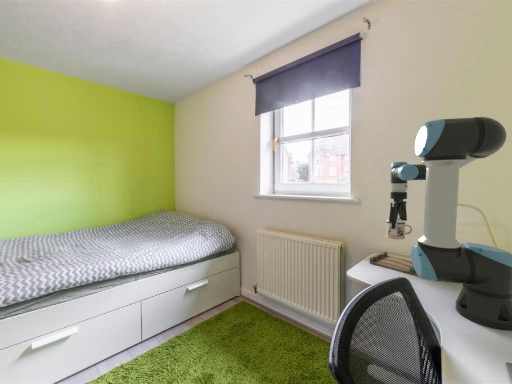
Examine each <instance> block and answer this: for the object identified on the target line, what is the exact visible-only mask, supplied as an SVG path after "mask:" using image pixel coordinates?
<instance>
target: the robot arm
mask: <svg viewBox="0 0 512 384" xmlns="http://www.w3.org/2000/svg"><path fill="white" fill-rule="evenodd" d="M506 130H507V129H506V128H505V126H504V125H503V124H502V123H501V122H500V121H498V120H496V119H494V118H491V117H487V116H485V117H484V116H475V117H460V118H459V117H458V118H442V119H434V120H428V121H426V122H424V123H423V124H422V125H421V126H420V128H419V129H418V132H417V134H416V137H415V142H414V154H415V155H416V156H417V157H418V158H421V159H420V162H421V163H422V164H421V163H420V164H419V163H417V164H412V163H411V164H410V163H408V162H407V161H396V162H395V161H394V162H391V164H390V199H391V200H393V202H390V209H389V215H388V216H389V218H388V219H389V222H391V235H395V236H397V223H396V222H397V218H399V219H401V220H403V221H405V222H407V221H408V216H407V201H405V200H407V199H408V192H407V191H408V188H409V185H408V181H425V190H424V191H425V194H424V216H423V234H422V235H421V236H420V237H419V238H418V239H417V244H413V245H411V249H410V259H411V261H412V263H413V266H414V269H415V271H416V275H417V277H419V278H420V279H422V280H426V281H431V282H432V281H433V282H440V283H442V282H443V283H450V284H451V283H452V284H462V288H461V291H460V292H459V294H458V296H457V298H456V300H455V310H456V312H457V313H459V314H460V315H461V316H462V317H464V318H466V319H467V320H470V321H472V322H474V323H477V324H479V325H482V326H486V327H489V328H493V329H497V330H504V331H505V330H506V331H512V253H511V252H509V251H507V250H505V249H502V248H499V247H494V246H490V245H486V244H481V243H477V242H476V243H475V242H465V243H463V244H464V245H463V247H464V248H461V244H462V243H460V242H459V241H458V240H457V239H456V236H457V235H456V233H457V218H458V217H457V215H458V198H459V183H460V182H459V180H460V179H459V177H460V169H462V168H463V167H464V166H467V165H469V164H470V163H472V162H474V161H475V160H477V159H486V158H487V157H489V156H491V155H494V154H495V153H496V152H499V150H500V149H501V148H503V146H504V145H505V143H506V140H507V131H506Z"/></svg>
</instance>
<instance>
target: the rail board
mask: <svg viewBox="0 0 512 384" xmlns="http://www.w3.org/2000/svg"><path fill="white" fill-rule="evenodd" d="M369 264H372V265H375V266H379V267H382V268H386V269H389V268H390V270H393V269H394V270H393V271H396V272H400V271H401V272H400V273H405V274H409V275H412V276H415V275H417V273H416V271H415V269H414V266H413V263H412V260H408V259H405V258H399V257H395V256H390V255H388V251H382V252H379V253H378V254H375V255H373V256H371V257H370V256H369Z"/></svg>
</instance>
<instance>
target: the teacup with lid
mask: <svg viewBox="0 0 512 384" xmlns="http://www.w3.org/2000/svg"><path fill="white" fill-rule="evenodd" d="M385 222H386V224H385V226H386V227H385V228H386V229H385V237H386V238H387V239H391V240H404V239H406V237H405V236H406V235H410V234H411V233H412V231H413V227H412V225H409V224H406V221H403V220H401V219H400V218H399V217H398V218H397V222H396V223H397V236H395V235H391V222H389V218H388V219H386V220H385ZM406 227H408V228H410V230H409V231H408V232H406Z"/></svg>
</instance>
